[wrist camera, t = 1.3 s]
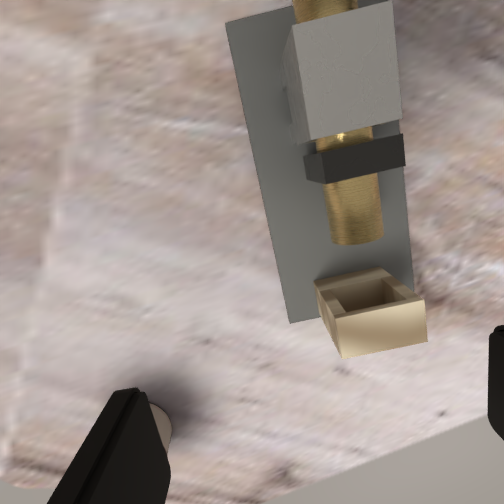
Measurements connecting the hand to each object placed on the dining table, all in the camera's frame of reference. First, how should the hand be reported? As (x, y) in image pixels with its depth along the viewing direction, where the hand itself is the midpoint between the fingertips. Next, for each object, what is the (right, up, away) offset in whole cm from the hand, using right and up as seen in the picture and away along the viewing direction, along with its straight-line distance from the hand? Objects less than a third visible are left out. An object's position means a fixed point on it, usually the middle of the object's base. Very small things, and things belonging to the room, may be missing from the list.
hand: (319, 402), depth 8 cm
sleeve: (+4, +17, +19) cm, 26 cm away
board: (+5, +11, +21) cm, 24 cm away
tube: (+5, +14, +17) cm, 23 cm away
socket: (+8, 0, +24) cm, 25 cm away
